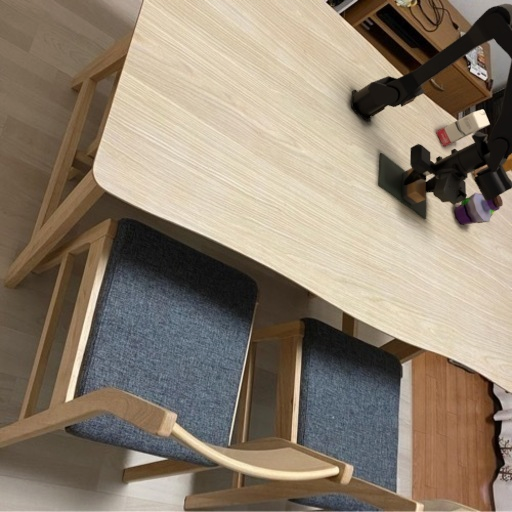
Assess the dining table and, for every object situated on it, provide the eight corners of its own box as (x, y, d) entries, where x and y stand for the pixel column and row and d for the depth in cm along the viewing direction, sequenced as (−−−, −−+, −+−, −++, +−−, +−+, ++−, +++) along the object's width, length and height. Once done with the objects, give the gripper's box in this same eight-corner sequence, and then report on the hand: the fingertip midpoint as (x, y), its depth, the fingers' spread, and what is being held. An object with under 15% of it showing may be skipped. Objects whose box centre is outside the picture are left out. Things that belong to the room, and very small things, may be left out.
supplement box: (485, 180, 176) (516, 167, 169) (481, 170, 177) (512, 156, 170) (489, 179, 179) (520, 166, 172) (485, 169, 179) (516, 155, 172)
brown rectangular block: (402, 197, 141) (415, 191, 138) (402, 172, 145) (415, 165, 142) (412, 205, 143) (425, 199, 140) (412, 180, 147) (425, 173, 144)
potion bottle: (450, 196, 158) (490, 178, 150) (468, 210, 163) (508, 194, 154) (450, 221, 154) (492, 205, 146) (469, 236, 158) (510, 220, 150)
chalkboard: (378, 185, 137) (380, 184, 136) (379, 153, 142) (381, 152, 141) (424, 219, 145) (426, 218, 145) (424, 188, 150) (426, 187, 150)
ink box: (443, 147, 165) (480, 128, 157) (435, 131, 165) (472, 111, 157) (454, 142, 171) (491, 124, 163) (447, 127, 171) (483, 108, 163)
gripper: (441, 167, 123) (384, 195, 135) (489, 208, 133) (432, 231, 144) (440, 129, 129) (385, 159, 140) (487, 170, 138) (432, 195, 149)
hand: (409, 187), depth 143 cm, fingers closed on brown rectangular block, 4 cm apart
